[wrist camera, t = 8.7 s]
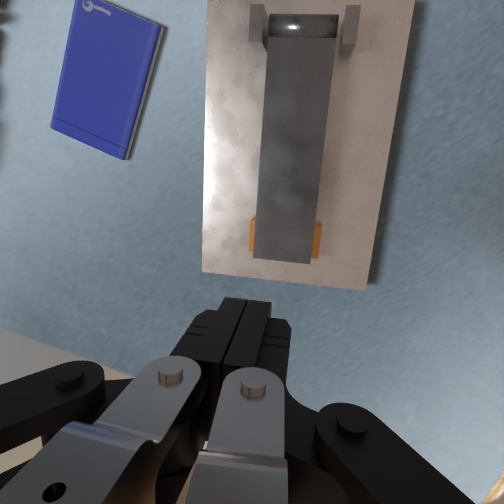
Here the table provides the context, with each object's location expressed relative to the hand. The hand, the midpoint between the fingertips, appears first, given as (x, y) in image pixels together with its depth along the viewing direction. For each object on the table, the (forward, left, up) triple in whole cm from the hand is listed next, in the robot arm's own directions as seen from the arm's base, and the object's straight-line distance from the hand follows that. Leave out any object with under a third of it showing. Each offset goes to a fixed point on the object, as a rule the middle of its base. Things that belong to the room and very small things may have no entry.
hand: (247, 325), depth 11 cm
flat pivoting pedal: (-6, 0, -21) cm, 21 cm away
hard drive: (-11, -19, -25) cm, 33 cm away
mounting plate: (-5, 0, -24) cm, 24 cm away
